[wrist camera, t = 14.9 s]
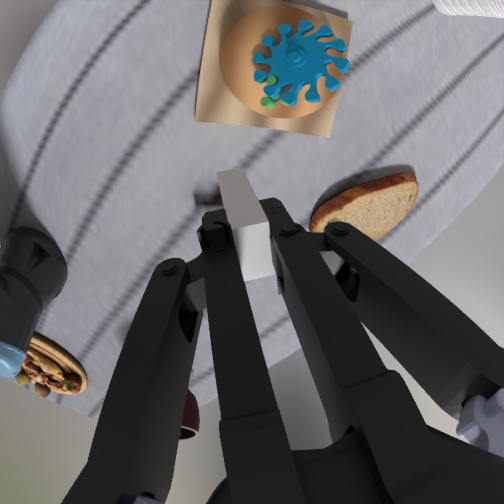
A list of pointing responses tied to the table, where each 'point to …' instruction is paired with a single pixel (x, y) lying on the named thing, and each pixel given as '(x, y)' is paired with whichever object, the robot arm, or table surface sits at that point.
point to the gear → (298, 64)
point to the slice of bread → (370, 205)
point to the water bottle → (471, 7)
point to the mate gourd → (190, 417)
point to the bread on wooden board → (262, 66)
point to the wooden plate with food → (51, 369)
